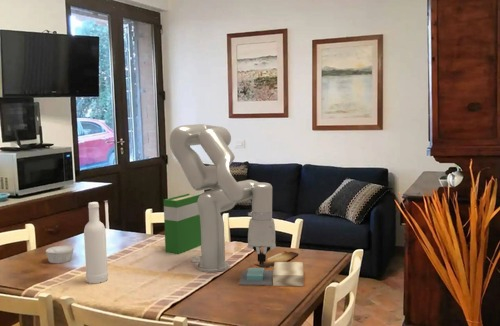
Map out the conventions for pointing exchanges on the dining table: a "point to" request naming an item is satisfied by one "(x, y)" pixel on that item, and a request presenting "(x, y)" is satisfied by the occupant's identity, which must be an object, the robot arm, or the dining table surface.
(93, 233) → the bottle
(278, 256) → the parchment
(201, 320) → the dining table surface
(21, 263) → the dining table surface
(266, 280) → the mat
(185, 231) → the hardback book
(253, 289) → the dining table surface
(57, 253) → the ramekin
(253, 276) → the tile
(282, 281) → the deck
